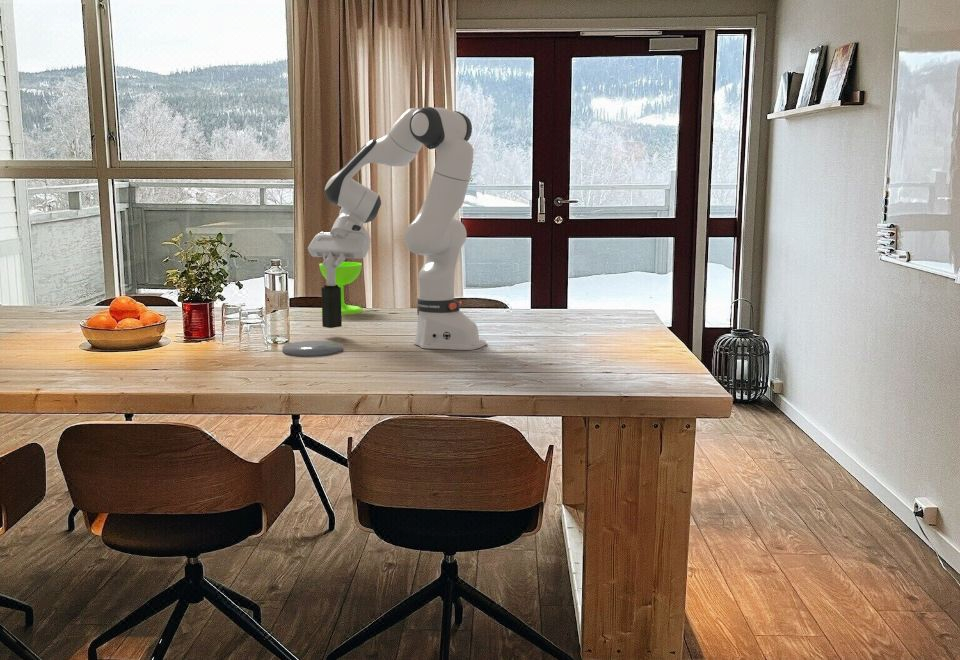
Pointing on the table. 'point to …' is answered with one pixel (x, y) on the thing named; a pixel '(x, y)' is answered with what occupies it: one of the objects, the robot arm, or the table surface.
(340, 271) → the wineglass
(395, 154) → the robot arm
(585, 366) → the table surface
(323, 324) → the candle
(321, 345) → the slate plate
